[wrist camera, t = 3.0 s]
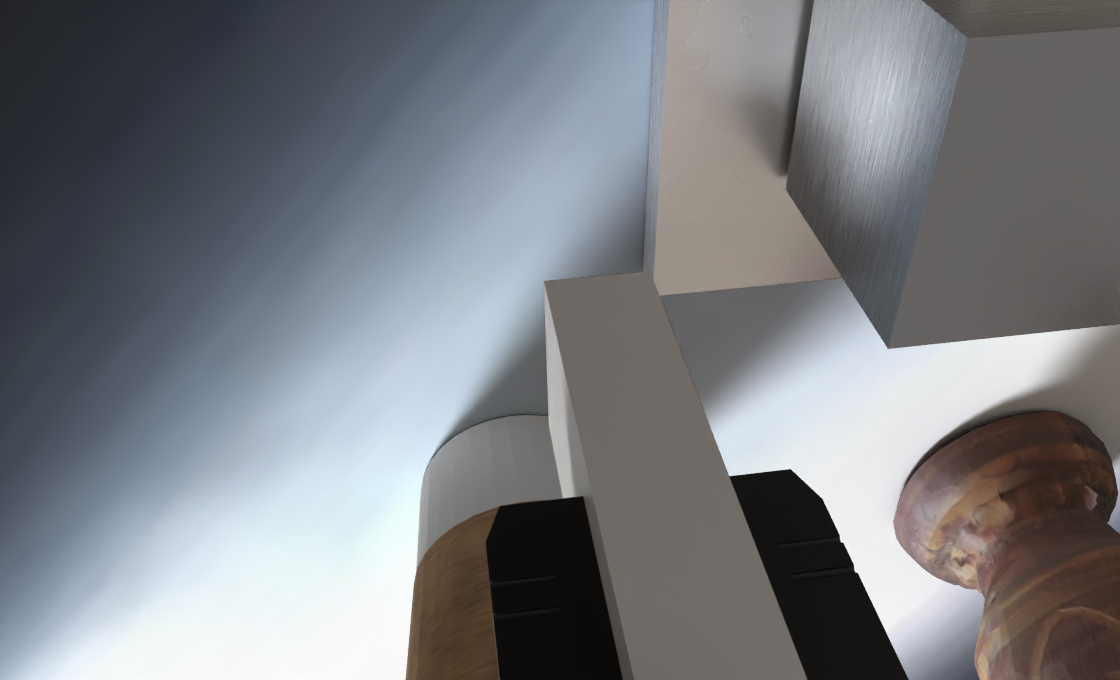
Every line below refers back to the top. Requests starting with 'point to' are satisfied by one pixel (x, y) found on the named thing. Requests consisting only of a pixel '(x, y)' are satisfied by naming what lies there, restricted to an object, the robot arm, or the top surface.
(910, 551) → the mortar and pestle
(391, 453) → the top surface
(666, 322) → the robot arm
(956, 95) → the grey rectangular block
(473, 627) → the coffee cup
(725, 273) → the gauge base
